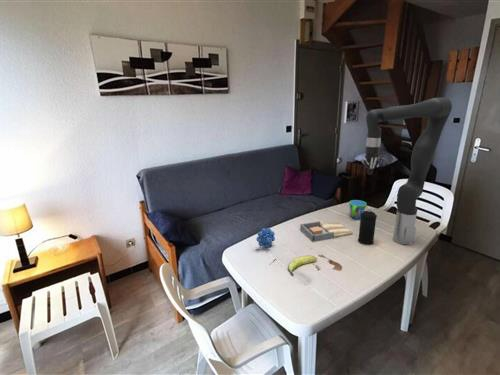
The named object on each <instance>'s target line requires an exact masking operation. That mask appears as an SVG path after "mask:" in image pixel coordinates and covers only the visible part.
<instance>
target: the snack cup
mask: <svg viewBox="0 0 500 375" xmlns="http://www.w3.org/2000/svg"><path fill="white" fill-rule="evenodd" d="M348 204H349V211H350V212H349V214H350V217H351V218H353V219H357V220H358V219H359V220H360V218H361V215H360V214H361V213H362V212H364V211H366V207H367V204H368V203H367V202H366V201H363V200H359V199H352V200H349V203H348Z"/></svg>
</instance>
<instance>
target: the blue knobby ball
mask: <svg viewBox="0 0 500 375" xmlns="http://www.w3.org/2000/svg"><path fill="white" fill-rule="evenodd" d="M260 230H261V231H258V232H257V237H256V241H257V243H258V246H259V247H263V248H265V249H266V248H268V247H269V246H270V247H271V246H273V242H275V241H276V237H275V233H276V232H275V231H273V230H272V228H271V227H267V228H265V227H263V228H261V229H260Z"/></svg>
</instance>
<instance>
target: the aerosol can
mask: <svg viewBox="0 0 500 375" xmlns="http://www.w3.org/2000/svg"><path fill="white" fill-rule="evenodd" d="M360 215H361V218H360V219H359V220H360V221H359V228H358V230H359V232H358V239H357V241H358V242H359V243H360V244H362V245H365V246H370V245H373V244H375V242H374V239H375V232H376V231H375V230H376V223H377V222H376V221H377V218H378V215H377V214H376V213H375V212H374V211H372V207H370V206H367V210H365V211H364V212H362V213H361V214H360Z"/></svg>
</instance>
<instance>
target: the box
mask: <svg viewBox="0 0 500 375" xmlns="http://www.w3.org/2000/svg"><path fill="white" fill-rule="evenodd" d="M320 224H321V221H320V220H319V221H314V222H307V223H301V224H300V227H299V228H300V231H301V232H302V233H303V234H304V235H305V236H306V237H307V238H309V240H311V241H312V243H314V242H315V243H316V242H319V241H323V240H324V241H325V240H329V239H330V240H331V239H334V232H329V233H328V232H325V233H323V234H318V235H313V234H312V233H311V232H310V231H309V228H312V227H320V228H321V226H320Z"/></svg>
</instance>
